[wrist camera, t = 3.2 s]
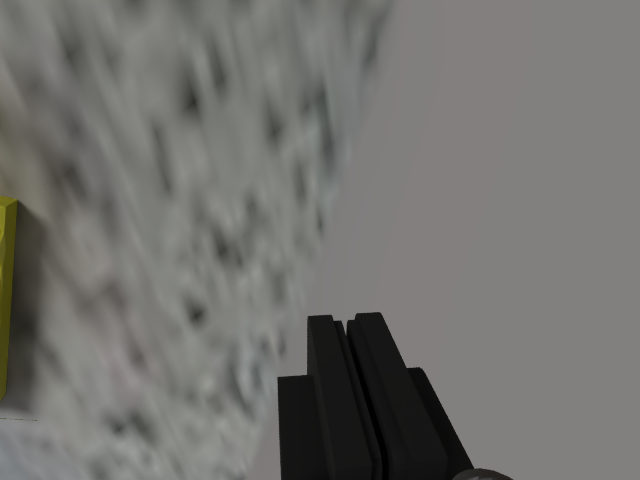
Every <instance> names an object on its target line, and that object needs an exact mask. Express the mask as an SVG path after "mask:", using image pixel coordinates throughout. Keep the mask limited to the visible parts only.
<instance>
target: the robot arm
mask: <svg viewBox="0 0 640 480" xmlns="http://www.w3.org/2000/svg"><path fill="white" fill-rule="evenodd" d="M278 411H279V438H280V465H281V480H513V479H511V478H510V477H508V476H506V475H503V474H501V473H498V472H496V471H493V470H487V469H481V468H479V469H474V467H473V465H472V463H471V461H470V459H469V457H468V455H467V453H466V451H465V449H464V448H463V446H462V444H461V442H460V440H459V438H458V436H457V434H456V432H455V430H454V428H453V426H452V424H451V422H450V420H449V419H448V416H447V415H446V413H445V411H444V409H443V407H442V405H441V403H440V401H439V399H438V397H437V395H436V393H435V391H434V390H433V388H432V385H431V384H430V382H429V380H428V378H427V376H426V374H425V372H424V371H423V369H421V368H420V367H416V368H406V366H405V363H404V361H403V359H402V357H401V355H400V353H399V351H398V348H397V346H396V344H395V342H394V340H393V338H392V336H391V333H390V331H389V329H388V327H387V325H386V323H385V320H384V318H383V316H382V314H381V313H380V312H374V313H357V314H356V316H355V320H348V322H347V332H346V334H345V331H344V327H343V324H342V321H334V320H333V317H332V315H318V316H308V322H307V375H301V376H286V377H278Z"/></svg>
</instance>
